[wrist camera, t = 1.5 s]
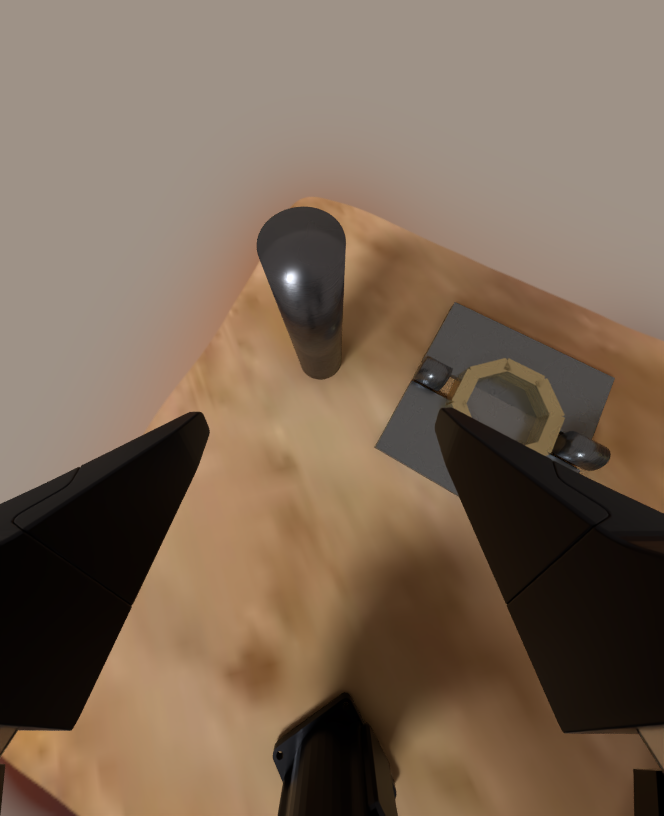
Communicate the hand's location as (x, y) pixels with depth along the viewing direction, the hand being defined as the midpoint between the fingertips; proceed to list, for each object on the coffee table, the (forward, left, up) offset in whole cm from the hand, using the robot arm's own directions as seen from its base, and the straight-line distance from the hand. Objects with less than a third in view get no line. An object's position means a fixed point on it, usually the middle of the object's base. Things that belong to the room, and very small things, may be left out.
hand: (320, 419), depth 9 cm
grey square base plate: (+14, -6, -13) cm, 20 cm away
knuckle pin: (+3, +7, -13) cm, 15 cm away
